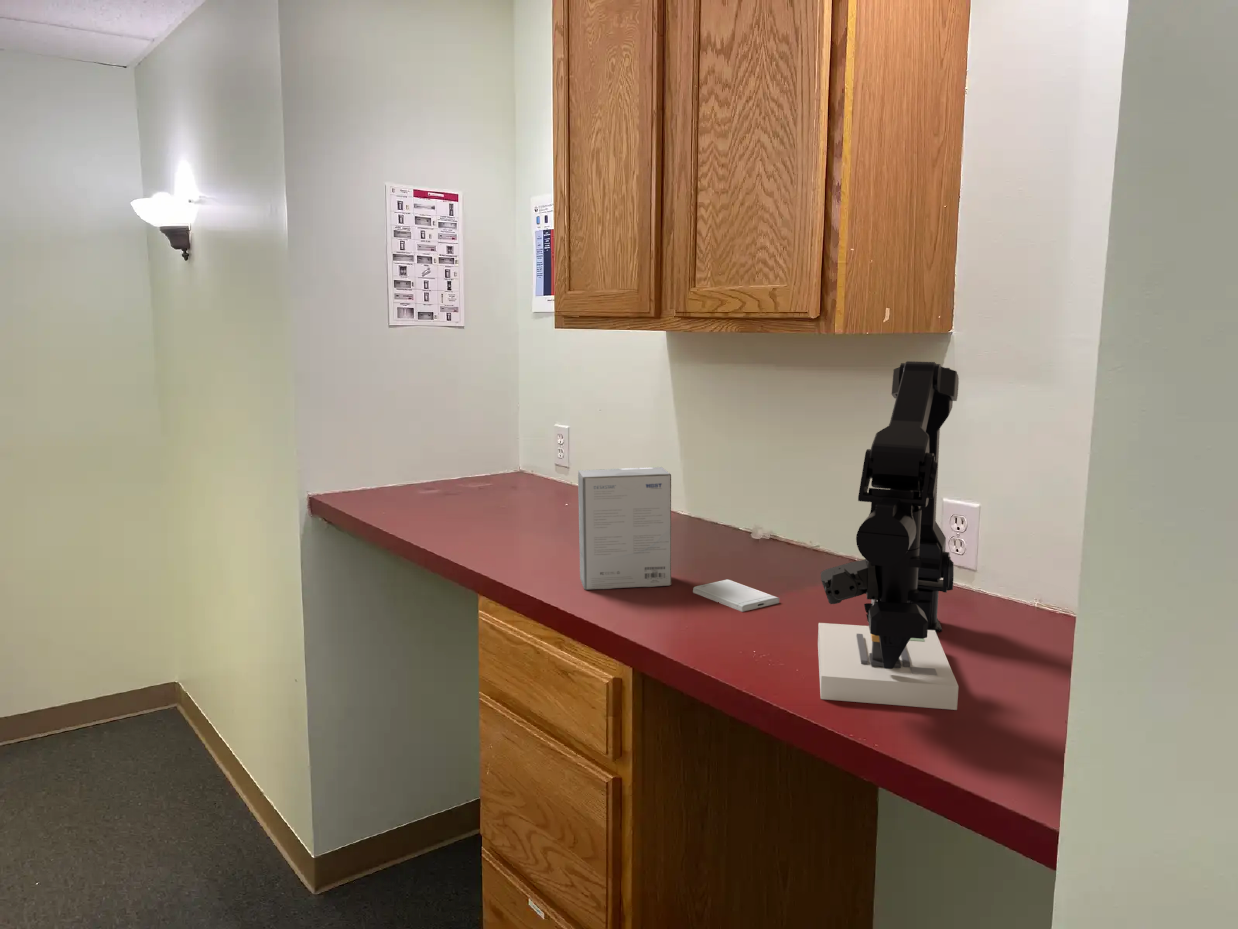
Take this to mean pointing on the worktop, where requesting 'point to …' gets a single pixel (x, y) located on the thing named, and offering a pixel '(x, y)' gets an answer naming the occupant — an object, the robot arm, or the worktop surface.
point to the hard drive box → (625, 527)
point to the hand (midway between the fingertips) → (888, 667)
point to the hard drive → (735, 595)
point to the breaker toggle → (878, 653)
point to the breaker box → (883, 670)
